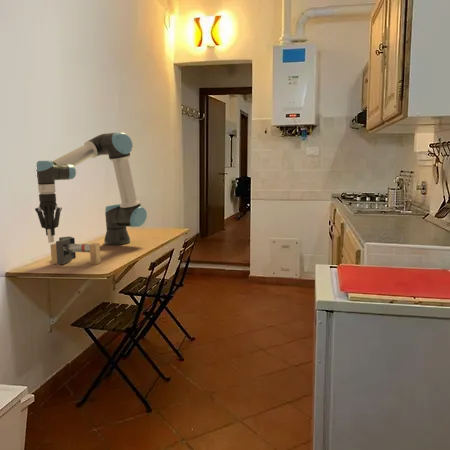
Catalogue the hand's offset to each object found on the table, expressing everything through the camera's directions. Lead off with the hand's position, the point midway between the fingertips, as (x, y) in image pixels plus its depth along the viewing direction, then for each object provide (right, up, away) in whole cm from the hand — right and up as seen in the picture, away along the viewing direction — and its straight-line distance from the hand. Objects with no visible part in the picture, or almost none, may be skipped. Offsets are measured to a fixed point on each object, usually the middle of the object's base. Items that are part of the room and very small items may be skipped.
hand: (51, 242), depth 227 cm
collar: (+6, -3, -1) cm, 7 cm away
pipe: (+12, -10, -1) cm, 16 cm away
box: (+4, -9, +14) cm, 17 cm away
